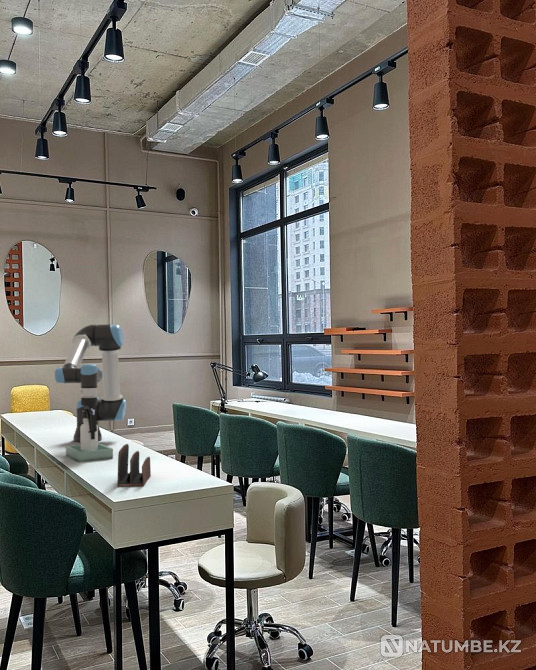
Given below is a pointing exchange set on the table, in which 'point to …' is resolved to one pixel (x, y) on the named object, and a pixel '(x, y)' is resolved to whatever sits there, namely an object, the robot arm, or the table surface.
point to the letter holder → (132, 469)
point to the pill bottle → (87, 437)
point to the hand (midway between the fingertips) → (89, 445)
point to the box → (89, 453)
